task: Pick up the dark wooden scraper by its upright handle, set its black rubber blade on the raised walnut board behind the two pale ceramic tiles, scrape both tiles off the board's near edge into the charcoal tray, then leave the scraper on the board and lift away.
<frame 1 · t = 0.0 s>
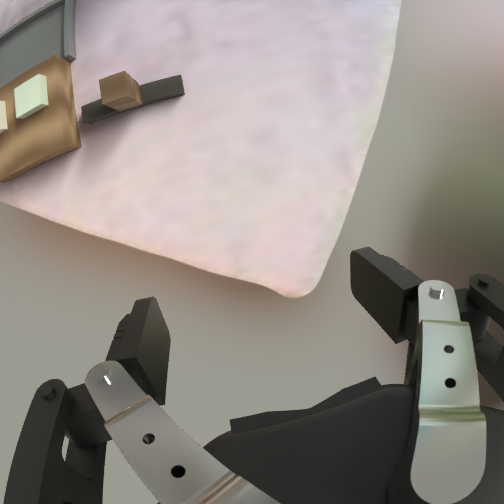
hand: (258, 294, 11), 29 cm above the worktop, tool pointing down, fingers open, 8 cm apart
scraper: (134, 100, 31), on the worktop
board: (34, 122, 29), on the worktop
bin: (29, 50, 23), on the worktop
tile b: (34, 97, 24), point 5 cm above the worktop, touching board
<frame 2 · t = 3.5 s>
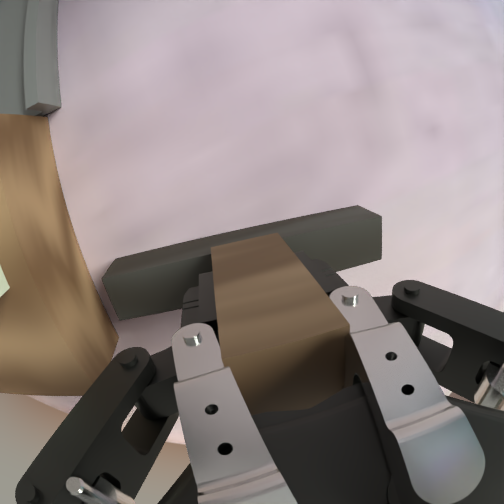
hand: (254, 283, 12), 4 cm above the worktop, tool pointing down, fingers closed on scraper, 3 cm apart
scraper: (243, 250, 15), on the worktop, touching gripper
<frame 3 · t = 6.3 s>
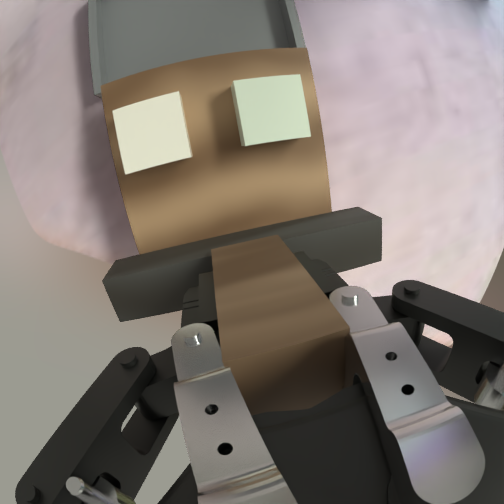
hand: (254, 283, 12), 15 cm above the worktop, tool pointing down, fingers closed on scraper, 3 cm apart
scraper: (243, 252, 15), point 11 cm above the worktop, touching gripper
board: (217, 146, 23), on the worktop
bin: (190, 14, 18), on the worktop
tile a: (155, 133, 18), point 5 cm above the worktop, touching board
tile b: (267, 111, 18), point 5 cm above the worktop, touching board
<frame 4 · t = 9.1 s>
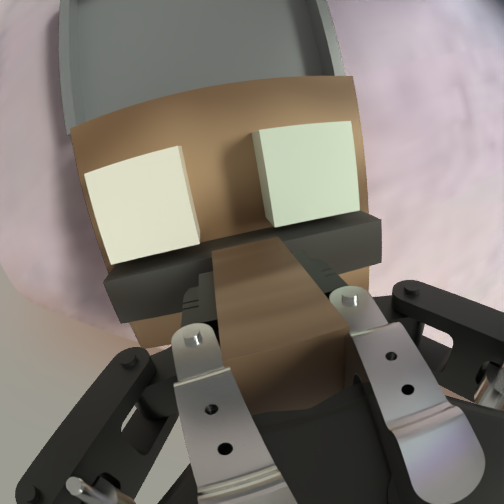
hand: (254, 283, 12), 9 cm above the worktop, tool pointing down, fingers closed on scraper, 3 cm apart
scraper: (243, 254, 15), point 5 cm above the worktop, touching gripper
board: (228, 200, 19), on the worktop
bin: (191, 20, 14), on the worktop
tile a: (148, 199, 13), point 5 cm above the worktop, touching board
tile b: (300, 168, 14), point 5 cm above the worktop, touching board
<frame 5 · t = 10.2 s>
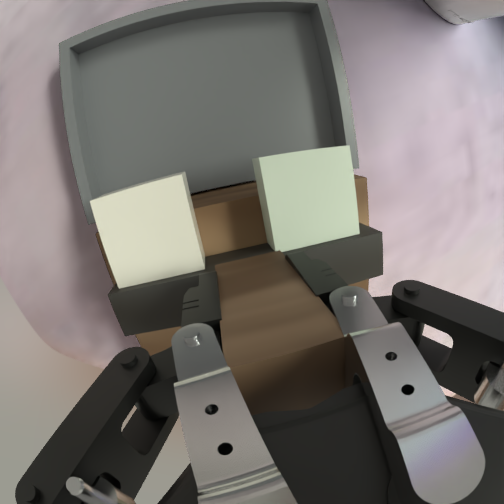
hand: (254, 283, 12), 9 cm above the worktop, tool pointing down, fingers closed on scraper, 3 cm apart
scraper: (246, 268, 16), point 5 cm above the worktop, touching gripper
board: (244, 277, 22), on the worktop
bin: (204, 93, 16), on the worktop
tile a: (153, 224, 14), point 5 cm above the worktop
tile b: (300, 193, 15), point 5 cm above the worktop, touching board
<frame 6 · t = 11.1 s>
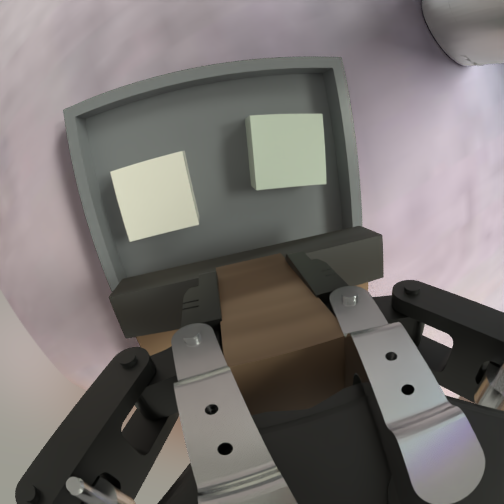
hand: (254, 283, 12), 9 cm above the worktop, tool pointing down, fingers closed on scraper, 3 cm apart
scraper: (247, 272, 16), point 5 cm above the worktop, tilted 5°, touching gripper
board: (254, 330, 24), on the worktop
bin: (218, 166, 18), on the worktop
tile a: (153, 197, 16), point 3 cm above the worktop, tilted 180°, touching bin
tile b: (290, 150, 16), point 3 cm above the worktop, tilted 180°, touching bin
when the fingers open (9 cm above the worktop, at t = 15.1 s): scraper stays where it is, resting on board.
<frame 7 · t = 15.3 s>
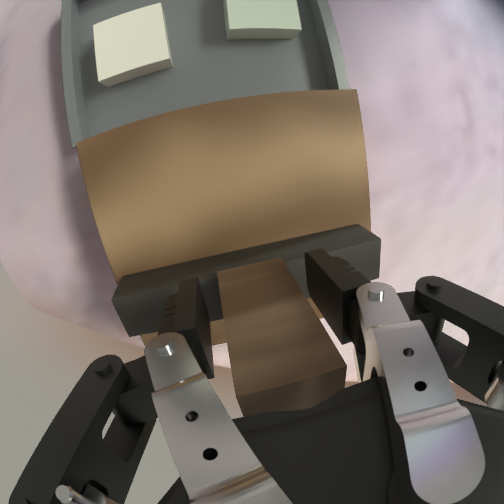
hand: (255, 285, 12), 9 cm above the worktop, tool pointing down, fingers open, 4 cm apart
scraper: (246, 268, 16), point 5 cm above the worktop, touching board
board: (233, 211, 20), on the worktop
bin: (195, 29, 14), on the worktop
tile a: (128, 39, 12), point 3 cm above the worktop, tilted 180°, touching bin
tile b: (262, 1, 12), point 3 cm above the worktop, tilted 180°, touching bin
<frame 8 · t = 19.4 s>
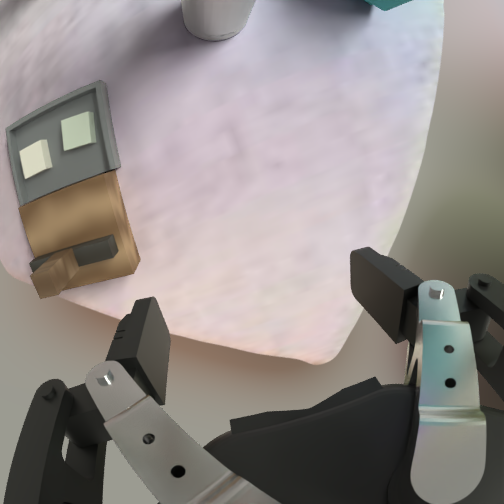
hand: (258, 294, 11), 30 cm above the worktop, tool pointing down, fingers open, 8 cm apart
scraper: (74, 253, 33), point 5 cm above the worktop, touching board
board: (83, 229, 37), on the worktop
bin: (60, 144, 32), on the worktop
tile a: (32, 159, 29), point 3 cm above the worktop, tilted 180°, touching bin
tile b: (75, 131, 29), point 3 cm above the worktop, tilted 180°, touching bin
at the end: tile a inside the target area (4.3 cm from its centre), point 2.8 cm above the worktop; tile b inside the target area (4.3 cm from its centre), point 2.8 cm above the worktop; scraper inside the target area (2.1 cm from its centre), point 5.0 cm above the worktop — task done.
